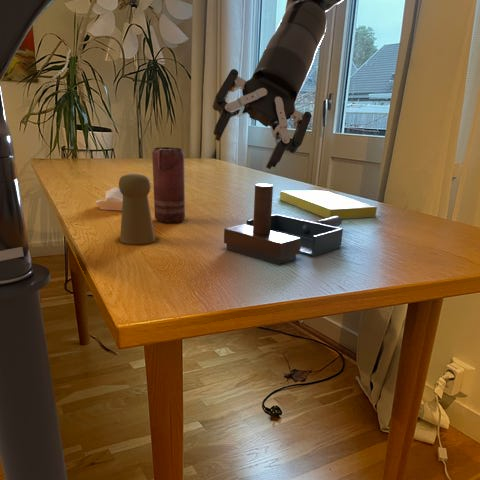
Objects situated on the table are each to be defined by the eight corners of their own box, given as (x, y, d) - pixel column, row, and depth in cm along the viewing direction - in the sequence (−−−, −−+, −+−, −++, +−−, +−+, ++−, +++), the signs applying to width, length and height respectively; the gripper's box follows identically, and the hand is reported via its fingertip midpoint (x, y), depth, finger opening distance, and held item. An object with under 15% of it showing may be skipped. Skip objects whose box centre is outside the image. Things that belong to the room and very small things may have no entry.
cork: (123, 245, 79) (118, 177, 75) (117, 236, 84) (112, 172, 80) (158, 243, 82) (156, 176, 77) (151, 234, 87) (148, 171, 82)
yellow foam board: (375, 216, 108) (320, 197, 128) (377, 206, 107) (321, 189, 127) (329, 219, 103) (279, 199, 123) (330, 209, 102) (280, 190, 122)
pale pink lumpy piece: (103, 192, 99) (88, 185, 106) (105, 213, 101) (90, 205, 108) (147, 189, 104) (130, 182, 112) (148, 209, 106) (131, 202, 113)
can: (149, 222, 95) (145, 148, 90) (163, 215, 101) (161, 146, 95) (176, 225, 94) (175, 150, 88) (189, 218, 99) (189, 147, 93)
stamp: (279, 265, 72) (284, 192, 68) (223, 249, 80) (225, 181, 75) (299, 259, 76) (305, 188, 71) (243, 243, 83) (246, 178, 78)
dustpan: (313, 256, 77) (315, 236, 76) (245, 238, 86) (246, 220, 85) (371, 236, 91) (374, 219, 89) (307, 222, 100) (309, 207, 98)
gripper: (250, 23, 68) (204, 114, 65) (334, 74, 71) (295, 164, 67) (238, 57, 76) (196, 141, 72) (315, 102, 78) (278, 185, 75)
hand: (244, 152), depth 70 cm, fingers open, 8 cm apart
